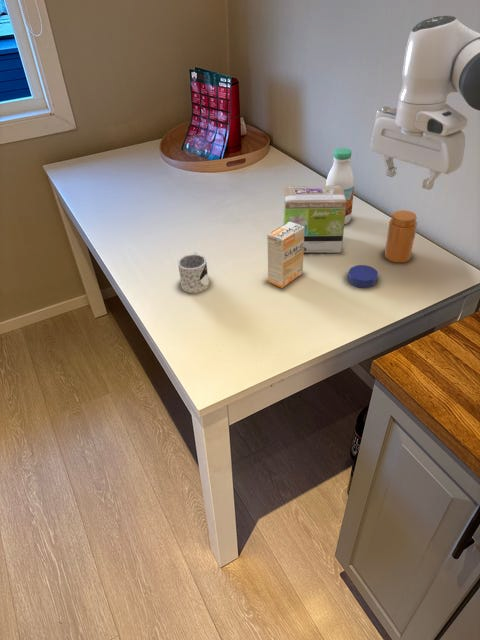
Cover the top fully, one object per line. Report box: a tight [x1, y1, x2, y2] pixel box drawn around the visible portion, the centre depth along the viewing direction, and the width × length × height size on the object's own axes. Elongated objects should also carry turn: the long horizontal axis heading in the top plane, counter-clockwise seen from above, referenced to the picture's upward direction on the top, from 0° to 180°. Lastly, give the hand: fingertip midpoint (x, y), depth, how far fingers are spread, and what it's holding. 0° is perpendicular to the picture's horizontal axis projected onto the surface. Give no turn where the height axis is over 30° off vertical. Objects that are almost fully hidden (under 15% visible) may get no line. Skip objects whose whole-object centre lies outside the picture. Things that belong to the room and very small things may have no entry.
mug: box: [177, 252, 210, 294], centre depth 117 cm, size 10×7×7 cm
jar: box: [384, 209, 418, 263], centre depth 119 cm, size 6×6×11 cm
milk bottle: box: [325, 147, 355, 225], centre depth 134 cm, size 8×8×20 cm
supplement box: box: [266, 222, 305, 289], centre depth 114 cm, size 8×5×13 cm, turn 137°
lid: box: [347, 264, 379, 289], centre depth 115 cm, size 7×7×2 cm
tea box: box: [282, 185, 346, 254], centre depth 125 cm, size 15×10×15 cm, turn 87°
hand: (408, 181), depth 104 cm, fingers open, 8 cm apart
